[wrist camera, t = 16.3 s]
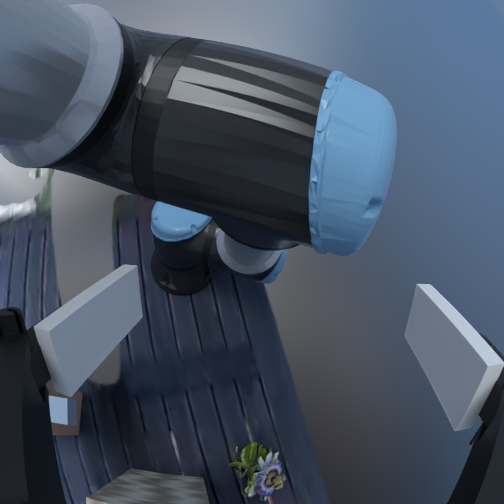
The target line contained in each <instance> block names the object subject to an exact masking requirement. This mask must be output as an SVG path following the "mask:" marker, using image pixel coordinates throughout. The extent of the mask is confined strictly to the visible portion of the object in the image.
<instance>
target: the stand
mask: <svg viewBox="0 0 504 504" xmlns="http://www.w3.org/2000/svg"><path fill="white" fill-rule="evenodd" d="M86 503H87V504H209V500H208V496H207V491H206V487H205V482H204V478H203V477H193V476H182V475H173V474H164V473H157V472H150V471H144V470H138V469H133V468H131V469H130V470H128V471H127V472H125V473H124V474H122V475H121V476H119V477H118V478H116V479H115V480H113V481H112V482H110V483H109V484H107V485H106V486H104V487H102V488H101V489H99V490H98V491H96V492H95V493H93V494H91V495H90V496H88V497H87V498H86Z"/></svg>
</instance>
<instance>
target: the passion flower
mask: <svg viewBox="0 0 504 504" xmlns="http://www.w3.org/2000/svg"><path fill="white" fill-rule="evenodd" d="M257 446H258V444H257V442H256V441H255V442H254V443H250V444H249V445H247V446H246V447H245V448H244V449H243V450H242V452H241V461H242V462H237V461H236V459H235V456H234V453H236V454H238V446H236V447H235V452H234V453H233V456H234V459H235V461H236V462H232V463H229V464H228V466H234V468H235V470H236V472H237V474H238V476H239V479H240V484H241V495H243V496H244V497H246V494H247V497H253V496H254V495H255V494H257V493H258V494H259V496H260V495H261V496H260V500H261V501H266V498H267V496H269V495H270V494H271V493H272V492H273V490H274V489H279V488H282V487H283V483H285V482H286V477H285V475H283V473H281V472H282V468H281V462H280V461H279V460H278V459H277V456H278V454H279V452H276V453H274V454H272V450H271V448H270V449H269V451H268V453H267V452H266V449H265V448H263V447H262V446H263V445H260V446H259V448H258V455H257V456H256V452H257ZM266 453H267V455H266ZM255 456H256V457H255ZM256 464H257V465H256ZM255 465H256V466H255ZM236 467H237V468H238V470H237V469H236ZM241 468H244V469H245V472H244V473H242V471H241ZM255 470H259V471H260V472H257V473H254V471H255ZM247 471H248V472H247ZM246 474H247V475H248V481H247V483H248V484H247V486H248V487H247V488H248V489H247V488H246V489H245V491H243V486H242V478H243V477H244V475H246ZM279 474H280V476H279Z"/></svg>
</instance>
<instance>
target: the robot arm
mask: <svg viewBox="0 0 504 504" xmlns="http://www.w3.org/2000/svg"><path fill="white" fill-rule="evenodd" d="M396 143H397V124H396V118H395V114H394V111H393V108H392V106H391V104H390V103H389V101H388V100H387V99H386V98H385V97H384V96H383V95H381V94H380V93H379V92H377V91H375V90H373V89H371V88H369V87H367V86H365V85H363V84H361V83H359V82H357V81H355V80H353V79H350V78H348V77H347V76H346V75H345V74H344V73H342V72H340V71H330V70H328V69H325V68H322V67H318V66H315V65H312V64H309V63H306V62H303V61H299V60H296V59H292V58H288V57H285V56H281V55H277V54H274V53H269V52H265V51H261V50H257V49H252V48H247V47H243V46H238V45H233V44H227V43H222V42H216V41H211V40H203V39H196V38H190V37H185V36H177V35H169V34H161V33H155V32H149V31H144V30H139V29H135V28H132V27H128V26H125V25H123V24H120V23H119V22H118V21H117V20H116V19H115V18H114V17H113V16H112V15H110V14H109V13H108V12H107V11H105V10H104V9H103V8H101V7H98V6H96V5H93V4H86V3H84V4H73V5H69V6H67V5H66V4H65V3H63V2H62V1H60V0H0V153H1V154H2V155H3V156H4V157H5V158H6V159H7V160H8V161H9V162H11V163H13V164H14V165H16V166H20V167H23V168H51V169H56V170H60V171H64V172H68V173H73V174H76V175H79V176H82V177H85V178H88V179H91V180H94V181H97V182H100V183H103V184H106V185H108V186H111V187H114V188H117V189H120V190H123V191H126V192H128V193H131V194H134V195H138V196H141V197H145V198H148V199H152V200H155V201H157V203H156V204H155V206H154V208H153V211H152V223H151V225H152V226H151V229H152V232H153V237H154V243H155V251H154V253H153V255H152V259H151V271H152V275H153V278H154V280H155V282H156V283H157V284H158V285H159V287H161V288H162V289H163V290H165V291H166V292H168V293H171V294H174V295H190V294H193V293H196V292H198V291H200V290H201V289H202V288H204V287H205V286H206V285H207V283H208V282H209V280H210V278H211V276H212V271H213V268H215V269H218V270H221V271H224V272H228V273H231V274H234V275H237V276H241V277H244V278H247V279H251V280H253V281H254V282H257V283H260V282H262V283H271V282H273V281H274V280H275V279H276V278H277V276H278V274H279V273H280V271H281V270H282V268H283V265H284V263H285V260H286V257H287V253H288V249H290V248H293V247H295V246H298V245H300V244H301V245H304V246H308V247H311V248H314V250H315V251H316V252H317V253H320V254H322V253H323V254H326V253H332V254H335V255H339V256H348V255H351V254H353V253H354V252H356V251H357V250H358V249H359V248H360V247H361V246H362V244H364V242H365V241H366V239H367V237H368V236H369V234H370V233H371V231H372V229H373V227H374V225H375V223H376V221H377V218H378V216H379V214H380V211H381V208H382V205H383V203H384V200H385V197H386V194H387V191H388V187H389V184H390V180H391V175H392V171H393V166H394V160H395V154H396ZM142 317H143V315H142V307H141V299H140V290H139V280H138V269H137V266H135V265H122V266H121V267H119V268H118V269H116V270H115V271H113V272H112V273H110V274H109V275H107V276H106V277H104V278H103V279H101V280H100V281H98V282H97V283H95V284H94V285H92V286H91V287H89V288H88V289H86V290H85V291H83V292H82V293H80V294H79V295H77V296H76V297H75V298H73V299H72V300H70V301H69V302H67V303H66V304H65V305H63V306H61V307H59V308H57V309H56V310H55V311H53V312H52V314H49V315H48V316H46V318H43V319H42V320H41V321H39V322H38V323H37V324H35V325H34V326H32V327H31V328H30V329H28V330H26V326H25V323H24V319H23V316H22V312H21V310H20V309H19V308H15V307H10V308H4V309H1V310H0V504H66V500H65V496H64V492H63V488H62V484H61V479H60V474H59V469H58V464H57V459H56V453H55V447H54V440H53V433H52V425H51V416H50V406H49V392H48V389H47V387H46V383H47V382H48V381H49V380H50V379H51V381H52V383H53V386H54V388H55V391H56V392H59V393H61V394H64V395H66V396H69V397H72V396H73V394H74V393H75V392H76V391H77V390H78V389H79V387H80V386H81V385H82V384H83V383H84V382H85V381H86V379H87V378H88V377H89V376H90V375H91V374H92V373H93V371H94V370H95V369H96V368H97V367H98V366H99V365H100V364H101V362H102V361H103V360H104V359H105V358H106V357H107V356H108V355H109V353H110V352H111V351H112V350H113V349H114V348H115V347H116V346H117V345H118V343H119V342H120V341H121V340H122V339H123V338H124V337H125V336H126V335H127V334H128V332H129V331H130V330H131V329H132V328H133V327H134V326H135V325H136V324H137V323H138V322H139V320H140V319H141V318H142ZM404 336H405V338H406V340H407V341H408V343H409V345H410V346H411V348H412V350H413V352H414V354H415V356H416V357H417V359H418V361H419V363H420V365H421V366H422V368H423V370H424V372H425V374H426V376H427V377H428V379H429V381H430V383H431V385H432V387H433V389H434V391H435V393H436V395H437V397H438V399H439V401H440V403H441V405H442V407H443V409H444V411H445V413H446V414H447V417H448V419H449V421H450V423H451V425H452V427H453V429H454V431H459V430H463V429H468V428H471V427H472V426H473V424H474V422H475V421H476V419H477V417H478V416H480V417H481V419H482V421H483V423H482V424H481V426H480V427H479V429H478V431H477V432H476V434H475V435H474V437H473V439H472V440H471V441H470V443H469V444H470V445H471V444H472V443H473V442H474V443H473V446H472V449H471V451H470V454H469V456H468V459H467V461H466V464H465V466H464V468H463V471H462V473H461V476H460V478H459V480H458V482H457V484H456V487H455V489H454V491H453V493H452V495H451V497H450V499H449V501H448V503H447V504H504V356H503V355H502V354H501V353H500V352H499V351H497V349H496V347H495V346H493V345H492V343H491V342H490V341H489V340H488V339H487V338H486V337H485V336H483V335H482V334H480V333H479V332H477V331H476V330H475V329H474V328H473V327H472V326H471V325H470V324H469V323H468V322H467V321H466V320H465V319H464V318H463V316H462V315H461V314H460V313H459V312H458V311H457V310H456V309H455V308H454V307H453V306H452V305H451V304H450V303H449V302H448V301H447V300H446V299H445V298H444V297H443V296H442V295H441V294H440V293H439V292H437V290H436V289H435V288H434V287H433V286H432V285H430V284H417V285H416V290H415V295H414V299H413V303H412V308H411V312H410V316H409V320H408V324H407V328H406V331H405V335H404Z"/></svg>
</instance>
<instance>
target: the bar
mask: <svg viewBox="0 0 504 504" xmlns="http://www.w3.org/2000/svg"><path fill="white" fill-rule="evenodd" d="M49 406H50V416H51V422H53V423H59V424H65V425H76V426H77V401H75V400H71V399H68V398H61V397H55V396H49Z"/></svg>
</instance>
